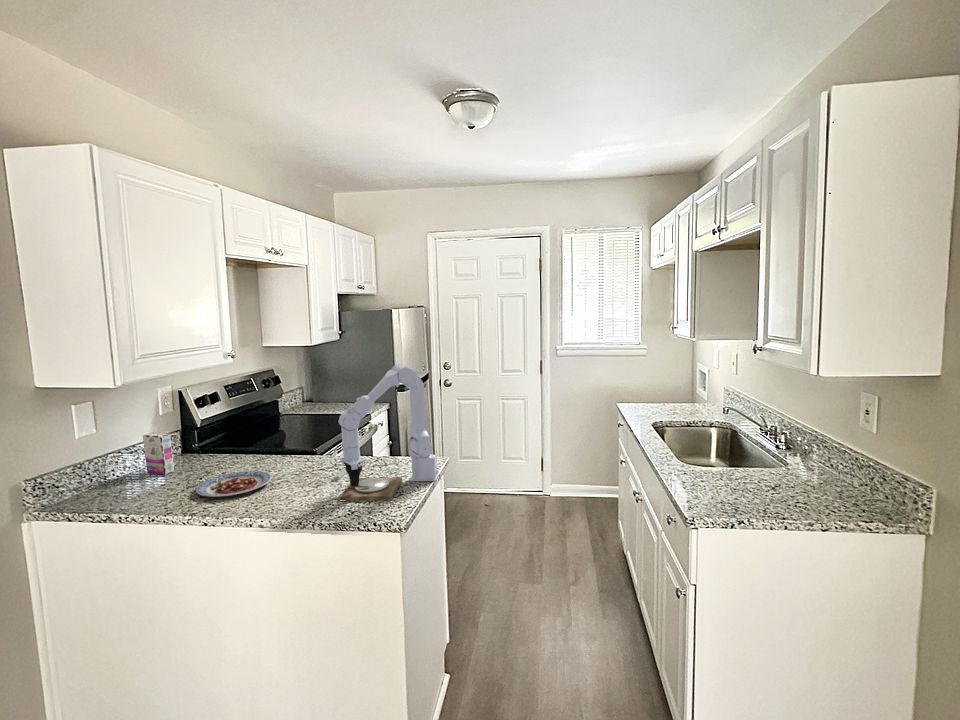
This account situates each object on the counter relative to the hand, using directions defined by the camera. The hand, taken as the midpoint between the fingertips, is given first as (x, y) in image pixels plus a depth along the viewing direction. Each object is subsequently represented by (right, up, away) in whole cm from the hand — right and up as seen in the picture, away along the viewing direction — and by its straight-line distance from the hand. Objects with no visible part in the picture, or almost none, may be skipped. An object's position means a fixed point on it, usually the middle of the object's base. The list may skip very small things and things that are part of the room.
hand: (354, 482), depth 185 cm
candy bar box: (-88, -4, +33) cm, 94 cm away
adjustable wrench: (-9, -1, +26) cm, 28 cm away
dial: (+6, -2, +2) cm, 6 cm away
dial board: (+6, -3, +2) cm, 7 cm away
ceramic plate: (-48, -5, +12) cm, 49 cm away
